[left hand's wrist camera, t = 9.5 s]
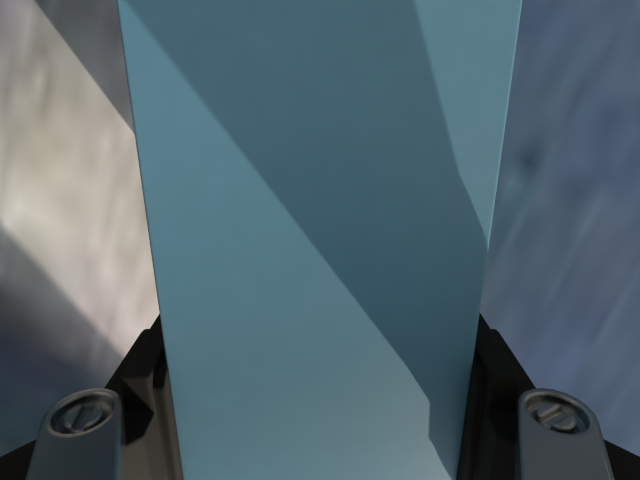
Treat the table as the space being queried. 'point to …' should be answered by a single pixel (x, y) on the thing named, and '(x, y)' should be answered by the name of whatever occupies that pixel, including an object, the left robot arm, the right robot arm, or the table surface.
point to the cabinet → (319, 224)
